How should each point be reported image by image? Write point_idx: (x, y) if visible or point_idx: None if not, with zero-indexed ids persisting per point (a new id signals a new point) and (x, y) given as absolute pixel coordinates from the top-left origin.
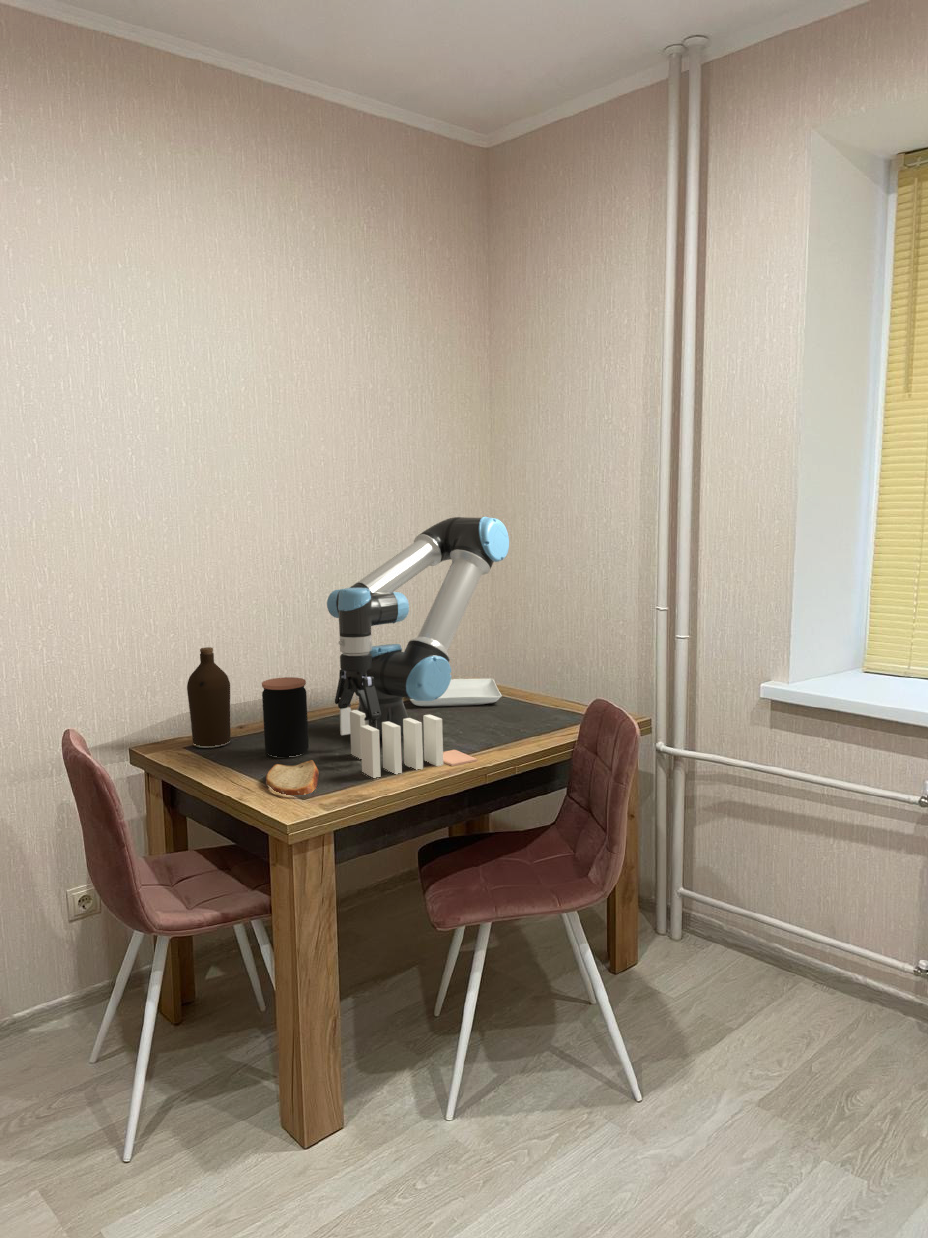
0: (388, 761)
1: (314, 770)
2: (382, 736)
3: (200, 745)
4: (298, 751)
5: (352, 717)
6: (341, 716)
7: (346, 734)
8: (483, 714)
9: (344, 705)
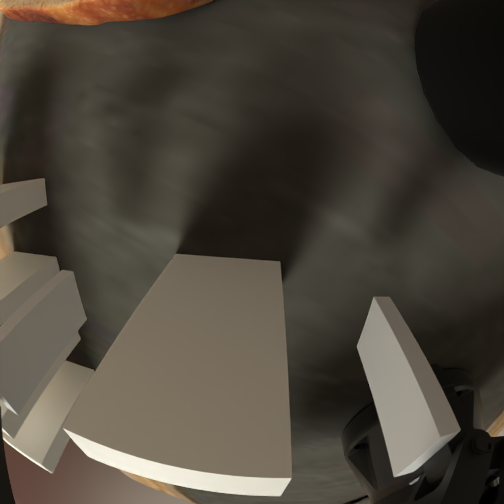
0: (13, 268)
1: (35, 6)
2: None
3: None
4: (420, 61)
5: (226, 428)
6: (417, 389)
7: (365, 323)
8: (324, 499)
9: (440, 472)
